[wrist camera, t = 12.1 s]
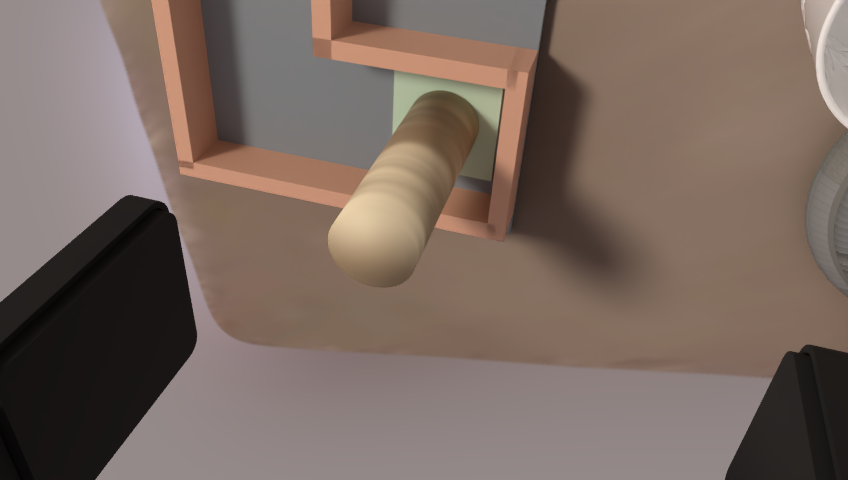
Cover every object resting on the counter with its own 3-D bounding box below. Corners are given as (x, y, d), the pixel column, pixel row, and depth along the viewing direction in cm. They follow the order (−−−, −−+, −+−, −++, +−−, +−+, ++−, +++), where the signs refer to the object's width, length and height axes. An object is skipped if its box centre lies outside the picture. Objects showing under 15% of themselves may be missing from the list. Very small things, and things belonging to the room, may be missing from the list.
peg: (411, 84, 39) (327, 203, 30) (482, 97, 39) (419, 224, 30) (407, 147, 42) (328, 275, 33) (474, 161, 41) (413, 296, 32)
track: (155, -255, 34) (108, -253, 31) (581, -218, 30) (571, -212, 28) (213, 166, 48) (184, 194, 45) (511, 228, 44) (500, 263, 41)
